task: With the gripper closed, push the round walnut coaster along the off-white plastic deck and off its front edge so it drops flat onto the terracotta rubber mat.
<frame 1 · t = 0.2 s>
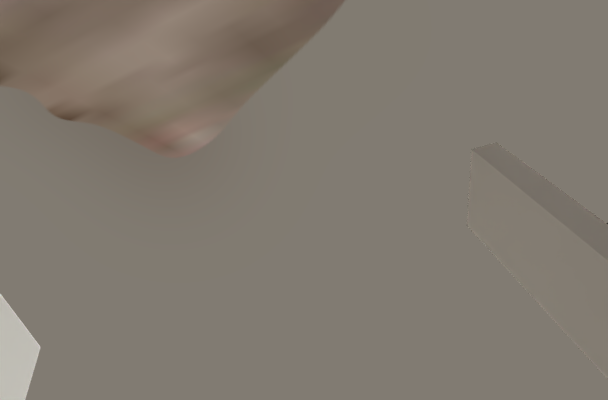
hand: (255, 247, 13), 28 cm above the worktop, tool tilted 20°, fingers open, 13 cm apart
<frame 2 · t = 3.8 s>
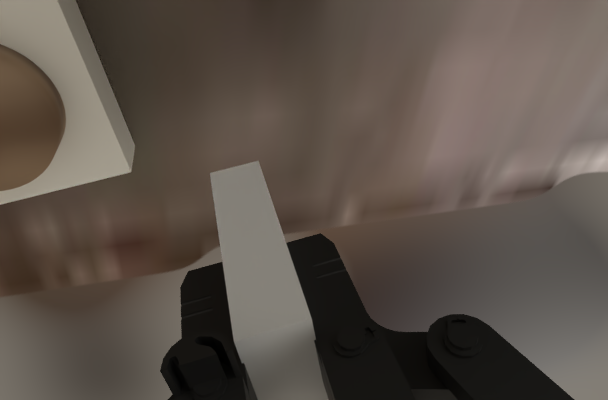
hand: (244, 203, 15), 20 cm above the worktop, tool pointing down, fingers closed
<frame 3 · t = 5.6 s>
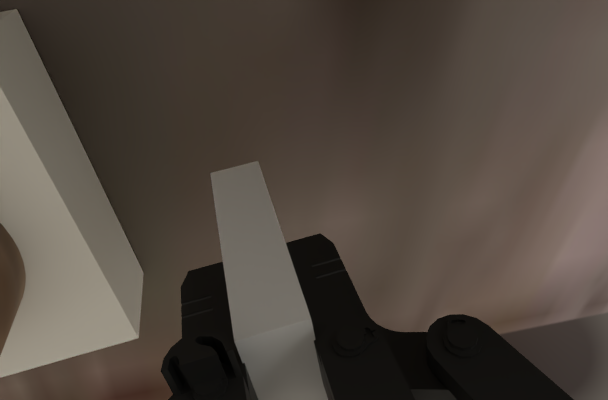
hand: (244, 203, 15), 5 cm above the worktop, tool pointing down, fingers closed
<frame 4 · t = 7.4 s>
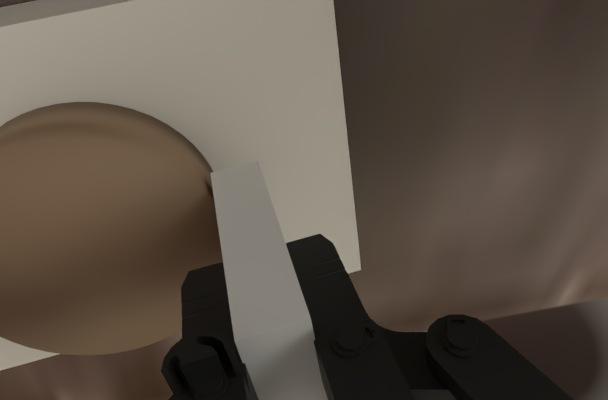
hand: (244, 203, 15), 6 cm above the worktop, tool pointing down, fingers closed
walnut coaster: (102, 215, 16), point 4 cm above the worktop, touching gripper, plastic deck
plastic deck: (131, 151, 19), on the worktop
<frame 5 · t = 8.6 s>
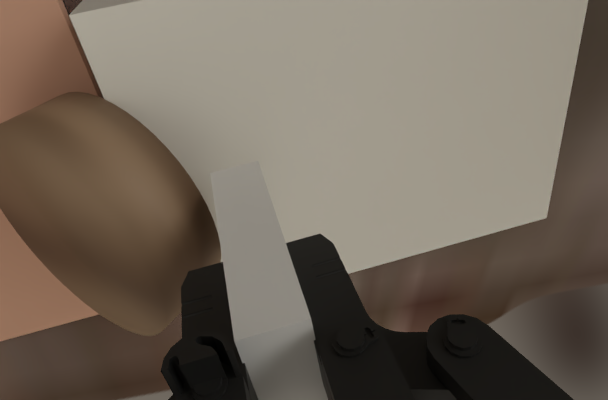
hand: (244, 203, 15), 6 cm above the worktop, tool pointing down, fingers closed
walnut coaster: (130, 199, 16), point 3 cm above the worktop, tilted 45°, touching rubber mat
plastic deck: (337, 102, 20), on the worktop
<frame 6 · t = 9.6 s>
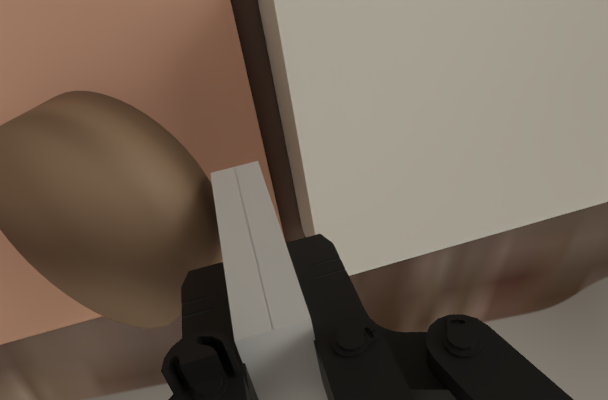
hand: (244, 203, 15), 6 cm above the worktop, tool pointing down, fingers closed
walnut coaster: (129, 196, 16), point 3 cm above the worktop, tilted 37°, touching gripper, rubber mat
rubber mat: (50, 173, 18), on the worktop
plastic deck: (455, 75, 20), on the worktop
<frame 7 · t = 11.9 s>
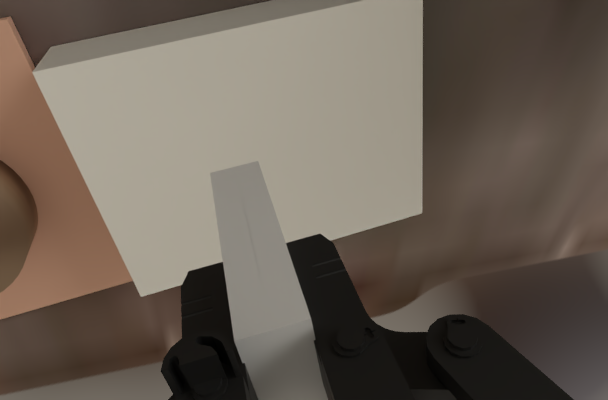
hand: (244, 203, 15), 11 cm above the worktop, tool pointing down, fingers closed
plastic deck: (252, 125, 25), on the worktop
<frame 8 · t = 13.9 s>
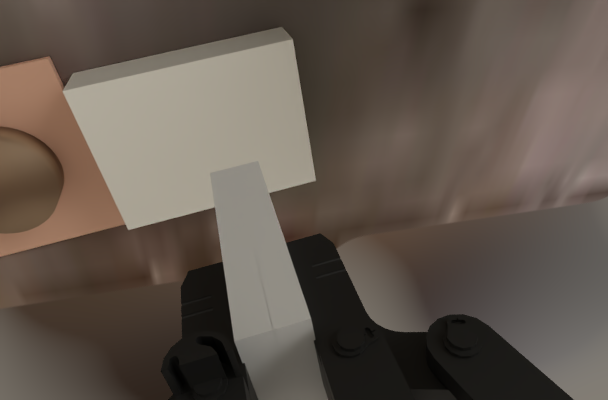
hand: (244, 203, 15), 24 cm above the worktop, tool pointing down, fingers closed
walnut coaster: (7, 173, 36), point 1 cm above the worktop, touching rubber mat
plastic deck: (201, 121, 38), on the worktop
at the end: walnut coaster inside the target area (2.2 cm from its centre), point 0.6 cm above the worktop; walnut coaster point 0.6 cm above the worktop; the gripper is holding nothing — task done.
